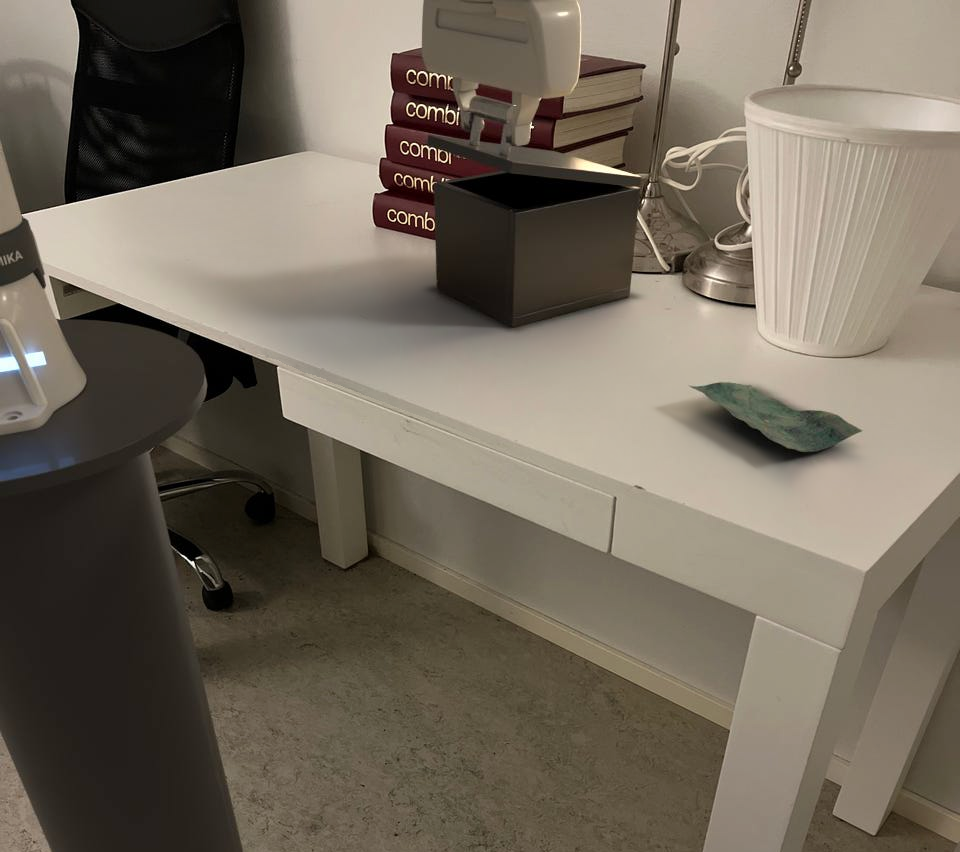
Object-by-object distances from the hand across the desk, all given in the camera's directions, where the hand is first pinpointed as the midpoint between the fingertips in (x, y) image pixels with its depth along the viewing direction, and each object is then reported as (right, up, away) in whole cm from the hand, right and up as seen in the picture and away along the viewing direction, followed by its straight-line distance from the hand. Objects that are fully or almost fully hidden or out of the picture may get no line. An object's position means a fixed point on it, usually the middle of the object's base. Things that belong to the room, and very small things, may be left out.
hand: (494, 137), depth 93 cm
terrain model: (+23, -31, -13) cm, 40 cm away
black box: (+4, -11, +12) cm, 17 cm away
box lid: (+4, -1, +4) cm, 6 cm away
